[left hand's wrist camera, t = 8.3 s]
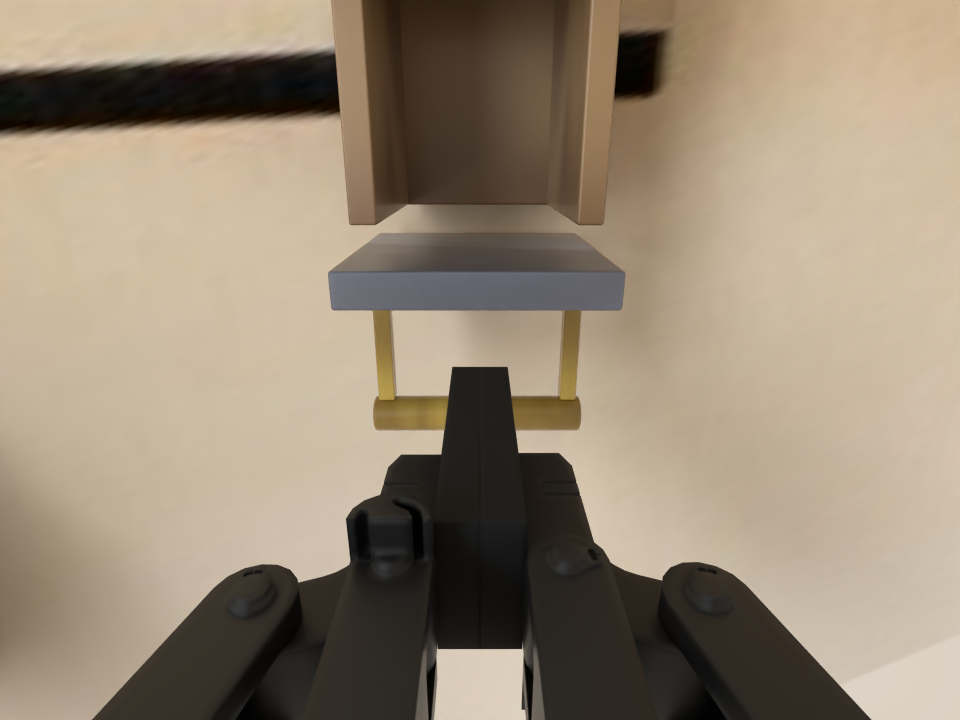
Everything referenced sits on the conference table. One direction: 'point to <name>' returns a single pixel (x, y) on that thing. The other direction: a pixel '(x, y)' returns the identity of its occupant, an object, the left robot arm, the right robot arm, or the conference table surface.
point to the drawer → (476, 170)
